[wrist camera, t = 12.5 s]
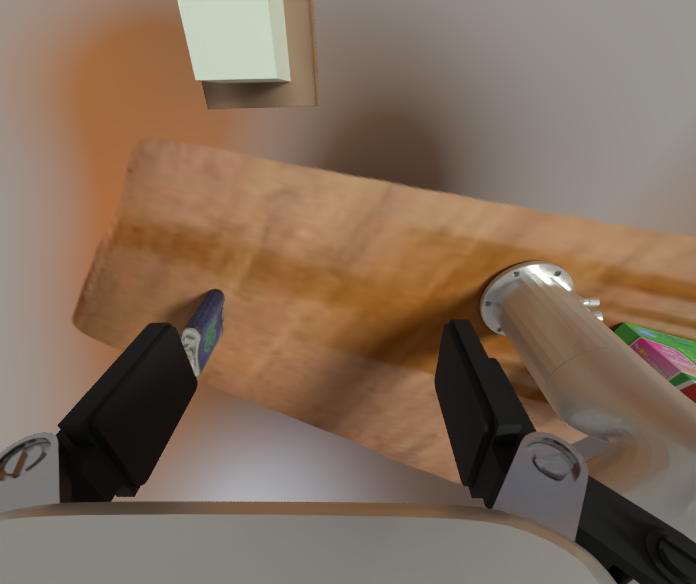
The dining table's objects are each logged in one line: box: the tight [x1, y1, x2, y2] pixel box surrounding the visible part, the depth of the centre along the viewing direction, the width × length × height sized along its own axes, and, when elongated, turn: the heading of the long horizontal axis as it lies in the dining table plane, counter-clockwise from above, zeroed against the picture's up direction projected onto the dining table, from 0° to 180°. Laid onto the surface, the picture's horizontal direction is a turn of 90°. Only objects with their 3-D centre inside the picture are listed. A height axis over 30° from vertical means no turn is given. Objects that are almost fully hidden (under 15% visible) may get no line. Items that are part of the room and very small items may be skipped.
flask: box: [181, 289, 225, 377], centre depth 43 cm, size 9×3×11 cm, turn 165°
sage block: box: [177, 0, 291, 83], centre depth 24 cm, size 6×6×6 cm
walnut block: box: [202, 0, 320, 109], centre depth 28 cm, size 10×10×5 cm
